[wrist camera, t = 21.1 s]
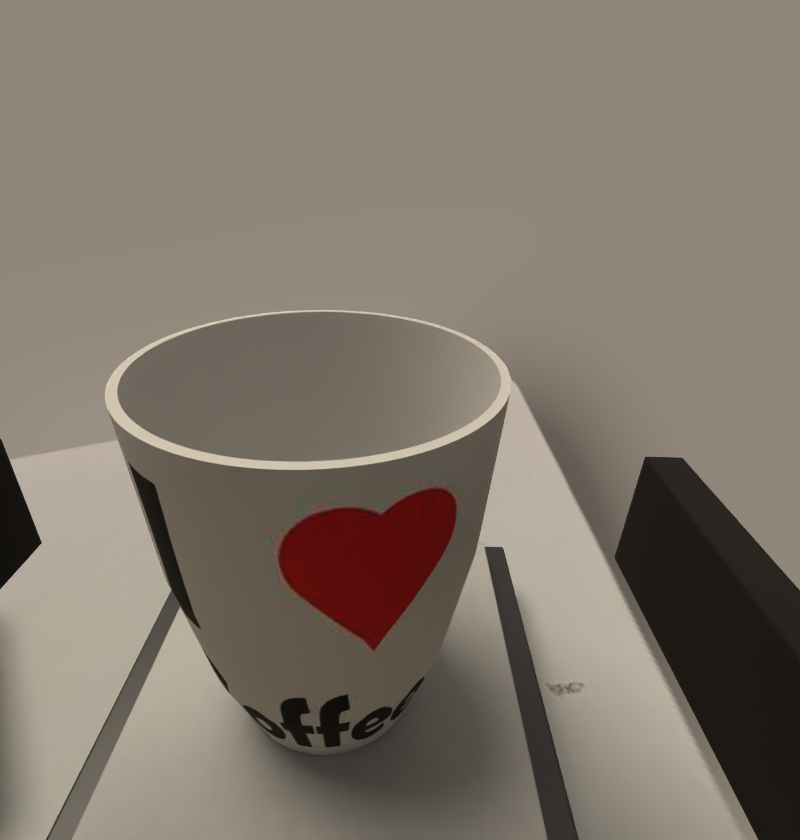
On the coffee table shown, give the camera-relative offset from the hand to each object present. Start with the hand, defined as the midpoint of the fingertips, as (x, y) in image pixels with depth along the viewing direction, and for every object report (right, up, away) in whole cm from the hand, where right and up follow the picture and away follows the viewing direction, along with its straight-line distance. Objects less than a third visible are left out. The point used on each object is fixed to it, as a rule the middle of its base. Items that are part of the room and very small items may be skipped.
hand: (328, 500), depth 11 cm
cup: (-1, -6, +5) cm, 8 cm away
